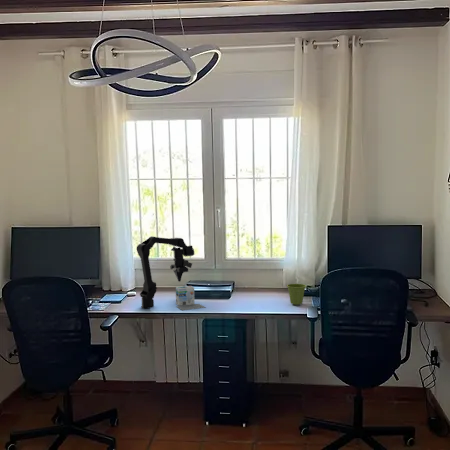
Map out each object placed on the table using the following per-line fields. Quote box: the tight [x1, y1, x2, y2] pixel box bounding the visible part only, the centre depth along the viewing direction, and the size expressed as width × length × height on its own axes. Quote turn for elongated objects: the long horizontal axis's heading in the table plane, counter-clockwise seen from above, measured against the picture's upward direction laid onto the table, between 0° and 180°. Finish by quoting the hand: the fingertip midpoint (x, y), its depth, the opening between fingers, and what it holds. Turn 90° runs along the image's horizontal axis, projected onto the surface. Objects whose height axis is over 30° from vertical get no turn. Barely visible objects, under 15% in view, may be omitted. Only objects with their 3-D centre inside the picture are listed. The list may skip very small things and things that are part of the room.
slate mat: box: [175, 303, 206, 311], centre depth 317 cm, size 15×11×1 cm
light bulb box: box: [175, 285, 195, 306], centre depth 325 cm, size 11×7×11 cm, turn 112°
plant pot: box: [286, 283, 307, 305], centre depth 320 cm, size 12×12×11 cm
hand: (179, 281), depth 334 cm, fingers closed
